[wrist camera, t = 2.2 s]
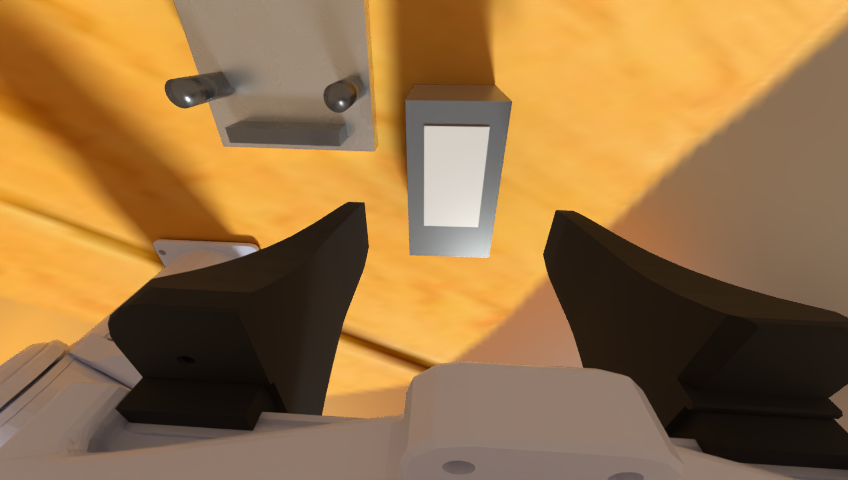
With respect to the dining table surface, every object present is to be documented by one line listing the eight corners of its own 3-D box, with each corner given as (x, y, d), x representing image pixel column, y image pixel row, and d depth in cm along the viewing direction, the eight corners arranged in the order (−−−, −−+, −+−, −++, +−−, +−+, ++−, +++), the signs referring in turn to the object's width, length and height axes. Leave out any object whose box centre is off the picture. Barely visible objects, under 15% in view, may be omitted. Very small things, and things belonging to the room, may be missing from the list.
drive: (479, 213, 21) (489, 258, 17) (416, 212, 21) (409, 255, 17) (494, 84, 17) (512, 102, 13) (414, 84, 17) (404, 100, 13)
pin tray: (377, 146, 19) (363, 170, 16) (233, 141, 19) (189, 164, 16) (354, -199, 12) (320, -293, 8) (123, -199, 12) (0, -289, 9)
